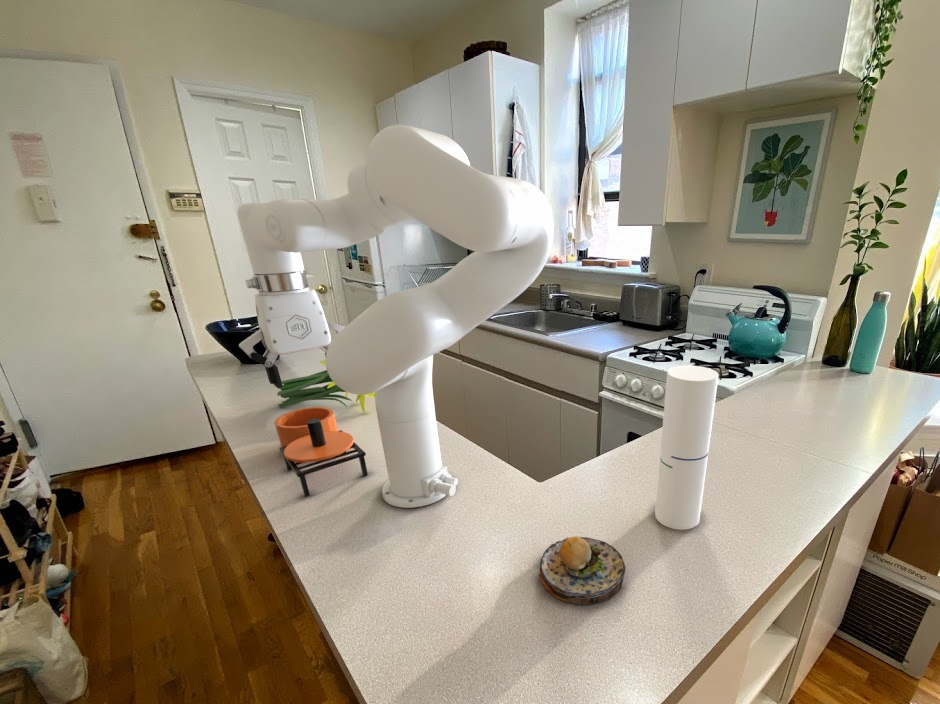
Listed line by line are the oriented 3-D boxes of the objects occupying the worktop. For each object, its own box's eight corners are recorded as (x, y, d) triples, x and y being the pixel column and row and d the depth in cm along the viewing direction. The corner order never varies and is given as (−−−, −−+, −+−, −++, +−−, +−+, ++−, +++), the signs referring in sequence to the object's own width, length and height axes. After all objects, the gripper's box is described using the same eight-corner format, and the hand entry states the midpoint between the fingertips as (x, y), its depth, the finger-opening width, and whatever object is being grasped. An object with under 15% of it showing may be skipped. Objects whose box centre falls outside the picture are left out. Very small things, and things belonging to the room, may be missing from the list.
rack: (370, 475, 91) (365, 452, 89) (304, 498, 84) (297, 474, 82) (346, 450, 100) (341, 429, 98) (285, 469, 93) (278, 447, 91)
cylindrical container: (691, 535, 72) (711, 384, 62) (648, 520, 76) (660, 375, 66) (704, 511, 78) (724, 369, 68) (663, 499, 81) (676, 362, 71)
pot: (351, 442, 104) (344, 411, 101) (307, 464, 95) (298, 431, 92) (317, 433, 109) (310, 403, 106) (272, 453, 100) (263, 422, 97)
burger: (639, 591, 62) (643, 546, 59) (556, 616, 58) (555, 570, 55) (601, 537, 72) (602, 497, 69) (529, 556, 68) (526, 514, 65)
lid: (367, 442, 92) (362, 414, 90) (314, 471, 83) (306, 439, 80) (325, 432, 98) (319, 404, 95) (271, 457, 88) (262, 427, 85)
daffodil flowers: (318, 392, 137) (411, 371, 123) (296, 433, 129) (393, 416, 115) (271, 354, 125) (367, 326, 111) (243, 397, 117) (343, 373, 103)
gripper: (227, 291, 70) (259, 397, 77) (342, 279, 81) (362, 372, 88) (217, 288, 75) (248, 387, 82) (327, 276, 86) (346, 365, 93)
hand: (307, 379), depth 85 cm, fingers open, 9 cm apart
